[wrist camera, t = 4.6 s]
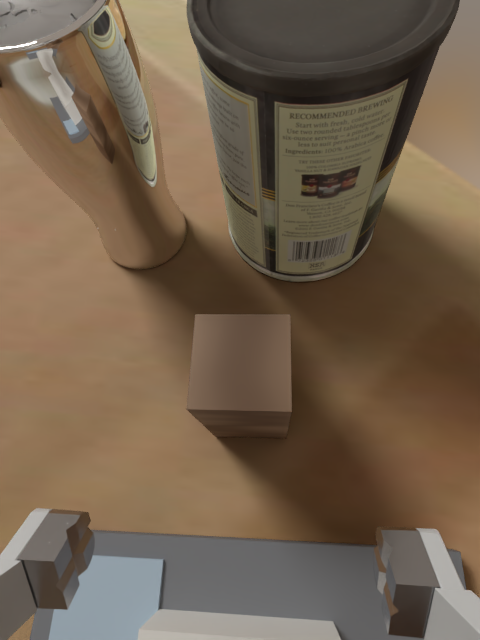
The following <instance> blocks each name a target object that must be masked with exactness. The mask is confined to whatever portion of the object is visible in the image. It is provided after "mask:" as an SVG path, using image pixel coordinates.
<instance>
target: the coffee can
mask: <svg viewBox="0 0 480 640" xmlns="http://www.w3.org/2000/svg"><path fill="white" fill-rule="evenodd" d="M459 1H460V0H187V18H188V23H189V28H190V33H191V36H192V38H193V41H194V44H195V45H196V47H197V53H198V58H199V64H200V69H201V75H202V80H203V85H204V90H205V96H206V101H207V107H208V112H209V118H210V123H211V129H212V134H213V139H214V145H215V150H216V155H217V162H218V167H219V172H220V177H221V183H222V188H223V194H224V199H225V205H226V210H227V216H228V226H229V233H230V237H231V240H232V242H233V244H234V246H235V248H236V250H237V251H238V253H239V254H240V256H241V257H242V258H243V259H244V260H245V261H246V262H248V263H249V264H250V265H251V266H252V267H254V268H255V269H257V270H258V271H260V272H262V273H264V274H266V275H268V276H270V277H273V278H276V279H280V280H285V281H290V282H305V281H315V280H321V279H325V278H328V277H331V276H333V275H336V274H338V273H340V272H342V271H343V270H345V269H347V268H349V267H350V266H351V265H352V264H354V263H355V262H356V261H357V260H358V259H359V258H360V257H361V256H362V254H363V253H364V252H365V250H366V249H367V247H368V245H369V243H370V241H371V238H372V235H373V231H374V227H375V223H376V221H377V218H378V216H379V213H380V210H381V207H382V204H383V201H384V199H385V196H386V193H387V190H388V187H389V185H390V182H391V179H392V176H393V173H394V171H395V168H396V165H397V162H398V160H399V157H400V154H401V151H402V149H403V146H404V143H405V140H406V138H407V135H408V133H409V130H410V127H411V124H412V121H413V118H414V116H415V113H416V110H417V108H418V105H419V102H420V99H421V97H422V94H423V91H424V88H425V85H426V83H427V80H428V77H429V74H430V72H431V69H432V66H433V63H434V60H435V58H436V55H437V52H438V50H439V46H440V45H441V44H442V43H443V41H444V39H445V38H446V36H447V34H448V32H449V30H450V28H451V25H452V23H453V21H454V19H455V16H456V13H457V11H458V7H459Z"/></svg>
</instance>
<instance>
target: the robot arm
mask: <svg viewBox="0 0 480 640" xmlns="http://www.w3.org/2000/svg"><path fill="white" fill-rule="evenodd" d="M90 521H91V520H90V517H89V513H88V512H83V511H70V510H58V509H43V508H36V509H35V510H34V511H32V512H31V513H30V514H29V516H28V517H27V519H26V520H25V521H24V523H23V524H22V526H21V527H20V528H19V530H18V531H17V532H16V534H15V535H14V537H13V538H12V539H11V541H10V542H9V544H8V545H7V546H6V548H5V549H4V551H3V552H2V553H1V555H0V640H7V639H8V638H9V637H10V636H11V635H12V634H13V633H14V632H16V631H17V630H18V629H19V628H20V627H21V626H22V625H23V624H24V623H25V622H26V621H27V620H28V619H29V618H30V617H31V616H32V615H33V614H34V613H35V612H36V611H37V608H40V609H63V610H68V608H69V606H70V604H71V602H72V600H73V598H74V596H75V594H76V592H77V589H78V587H79V585H80V584H79V579H78V576H79V575H81V574H82V573H83V572H84V571H85V570H87V568H88V566H89V564H90V562H91V560H92V556H93V552H94V548H95V538H94V533H93V532H92V531H91V530H90V529H89V528H88V525H89V523H90ZM375 537H376V541H377V546H376V547H375V548H374V551H373V570H374V577H375V582H376V586H377V589H378V590H379V591H380V592H381V593H382V595H383V597H382V604H381V608H382V612H383V616H384V620H385V624H386V628H387V633H388V635H396V636H405V637H414V638H424V640H480V598H479V597H478V596H477V595H476V594H474V593H473V592H472V591H471V590H465V589H464V587H463V585H462V582H461V580H460V578H459V576H458V573H457V571H456V569H455V567H454V564H453V562H452V560H451V558H450V555H449V553H448V551H447V549H446V546H445V544H444V542H443V540H442V537H441V535H440V533H439V532H438V531H437V530H436V529H423V528H416V529H415V528H406V527H381V526H378V527H377V529H376V535H375Z"/></svg>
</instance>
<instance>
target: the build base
mask: <svg viewBox="0 0 480 640" xmlns="http://www.w3.org/2000/svg"><path fill="white" fill-rule="evenodd" d="M91 531H92V532H93V533H94V538H95V548H94V552H93V556H92V560H91V562H90V564H89V566H88V568H87V570H85V571H84V572H83V573H82V574H81V575H79V576H78V579H79V584H80V585H79V587H78V589H77V592H76V594H75V596H74V598H73V600H72V602H71V604H70V606H69V608H68V610H63V609H40V608H37V611H36V612H35V616H34V621H33V626H32V631H31V636H30V640H424V638H414V637H405V636H396V635H388V633H387V628H386V624H385V620H384V616H383V612H382V608H381V604H382V597H383V595H382V593H381V592H380V591H379V590H378V589H377V586H376V582H375V577H374V570H373V551H374V548H375V547H376V546H377V545H364V544H345V543H327V542H308V541H289V540H271V539H252V538H233V537H214V536H196V535H177V534H158V533H140V532H121V531H102V530H91ZM447 551H448V553H449V555H450V558H451V560H452V562H453V564H454V567H455V569H456V571H457V573H458V576H459V578H460V580H461V582H462V585H463V587H464V589H465V590H466V585H465V578H464V572H463V566H462V560H461V554H460V552H459V551H456V550H452V549H447Z"/></svg>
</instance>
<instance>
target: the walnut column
mask: <svg viewBox="0 0 480 640" xmlns="http://www.w3.org/2000/svg"><path fill="white" fill-rule="evenodd" d="M187 410H188V411H189V412H190V413H191V414H192V415H193V416H194V417H195V418H196V419H197V420H199V421H200V422H201V423H202V424H203V425H204V426H205V427H206V428H207V429H208V430H209V431H210V432H211V433H212V434H213V435H215V436H219V437H253V438H286V437H287V432H288V427H289V423H290V418H291V413H292V394H291V324H290V314H195V323H194V334H193V344H192V355H191V366H190V377H189V388H188V399H187Z"/></svg>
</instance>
